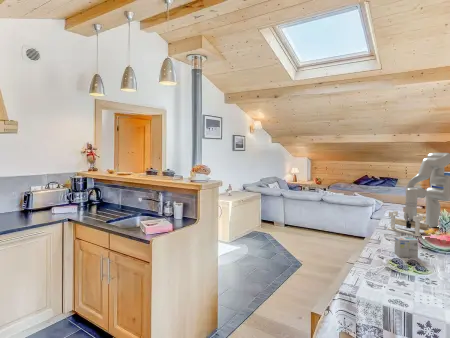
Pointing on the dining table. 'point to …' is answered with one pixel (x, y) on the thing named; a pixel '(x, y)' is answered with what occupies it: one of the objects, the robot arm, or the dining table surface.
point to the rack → (417, 229)
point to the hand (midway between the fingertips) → (410, 227)
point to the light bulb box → (406, 247)
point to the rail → (403, 223)
